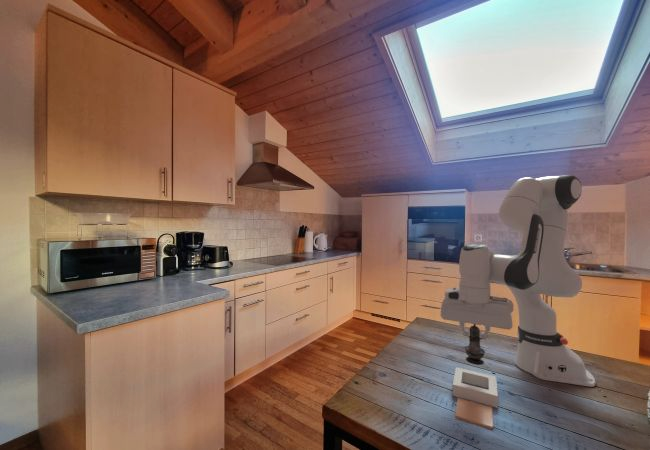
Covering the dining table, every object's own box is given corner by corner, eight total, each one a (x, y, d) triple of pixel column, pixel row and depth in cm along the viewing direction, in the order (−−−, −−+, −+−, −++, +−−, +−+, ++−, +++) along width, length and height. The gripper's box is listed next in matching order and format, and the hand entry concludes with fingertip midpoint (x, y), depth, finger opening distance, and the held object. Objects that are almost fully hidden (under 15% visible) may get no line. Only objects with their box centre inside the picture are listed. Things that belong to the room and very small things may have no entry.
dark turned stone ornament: (461, 360, 88) (461, 323, 88) (468, 354, 92) (468, 319, 92) (481, 367, 84) (481, 328, 84) (487, 360, 88) (487, 323, 88)
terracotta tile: (492, 409, 79) (492, 407, 79) (493, 429, 72) (493, 427, 72) (457, 399, 84) (457, 397, 84) (455, 417, 76) (455, 415, 76)
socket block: (496, 386, 90) (496, 376, 90) (497, 408, 80) (497, 396, 80) (456, 377, 96) (455, 367, 96) (452, 395, 86) (452, 384, 86)
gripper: (512, 296, 86) (512, 340, 86) (442, 288, 96) (442, 328, 96) (514, 301, 80) (514, 348, 80) (439, 292, 90) (439, 334, 90)
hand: (474, 337), depth 88 cm, fingers closed on dark turned stone ornament, 4 cm apart
